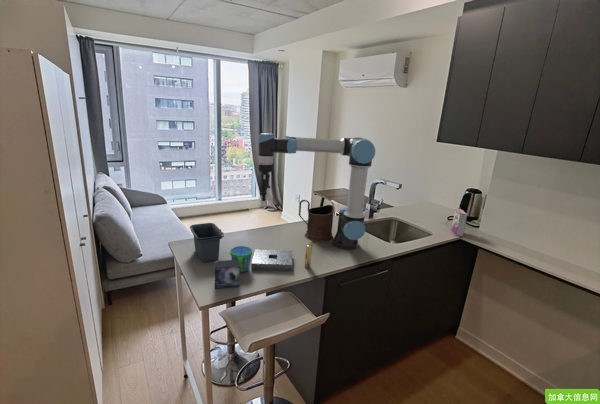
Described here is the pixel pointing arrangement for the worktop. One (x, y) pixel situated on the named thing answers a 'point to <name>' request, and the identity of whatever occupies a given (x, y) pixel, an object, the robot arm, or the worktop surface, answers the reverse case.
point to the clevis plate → (272, 260)
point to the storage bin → (207, 240)
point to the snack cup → (242, 256)
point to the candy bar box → (459, 222)
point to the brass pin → (308, 256)
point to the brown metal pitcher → (319, 223)
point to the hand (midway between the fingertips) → (265, 203)
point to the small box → (227, 274)
